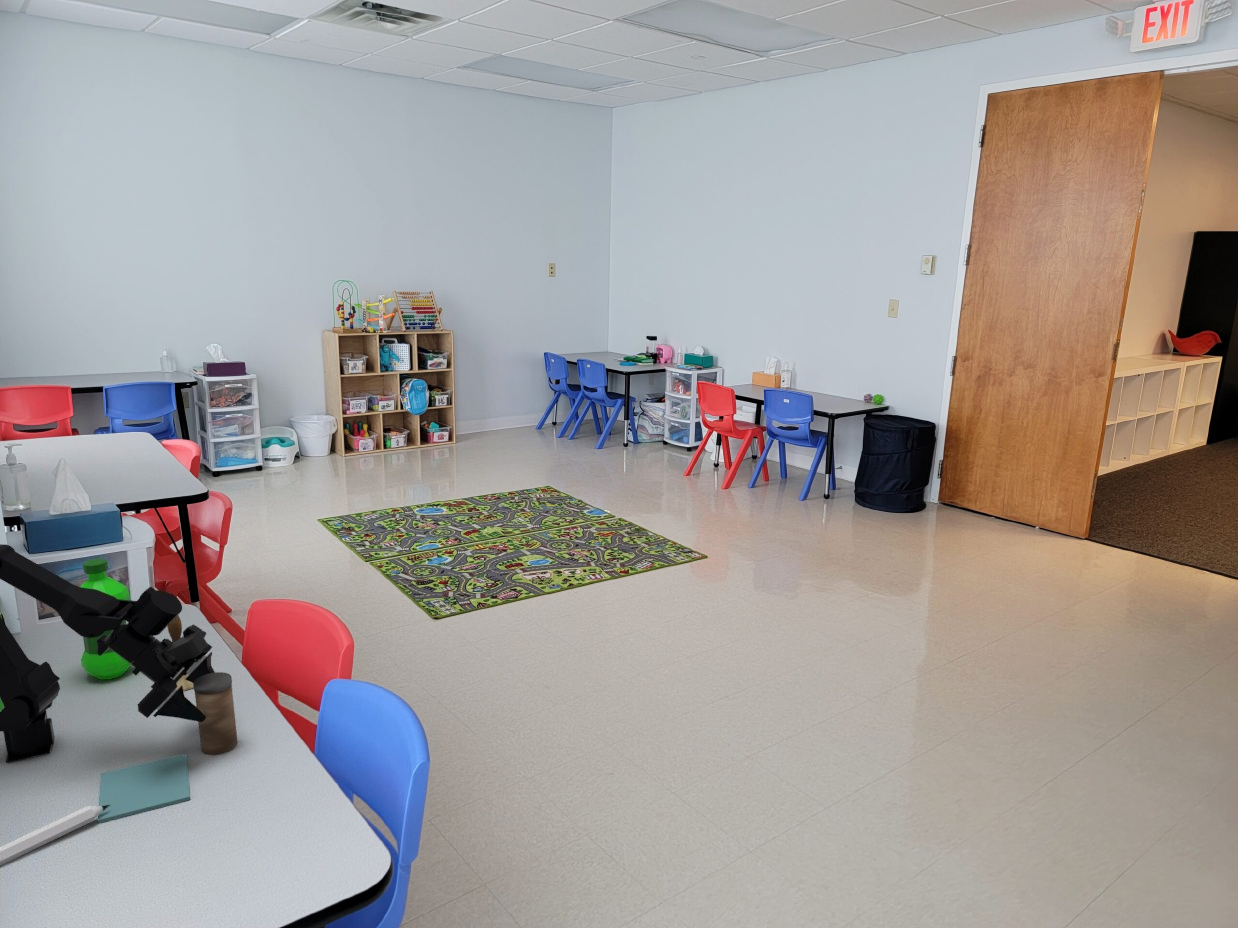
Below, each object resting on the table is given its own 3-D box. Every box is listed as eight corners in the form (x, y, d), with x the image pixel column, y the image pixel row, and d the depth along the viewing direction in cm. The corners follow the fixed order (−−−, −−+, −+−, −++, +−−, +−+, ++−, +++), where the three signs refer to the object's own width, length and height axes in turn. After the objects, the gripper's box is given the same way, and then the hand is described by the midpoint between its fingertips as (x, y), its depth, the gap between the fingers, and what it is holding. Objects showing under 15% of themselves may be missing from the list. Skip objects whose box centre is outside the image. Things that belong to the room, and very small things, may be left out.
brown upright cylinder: (201, 758, 153) (194, 692, 150) (199, 741, 158) (192, 676, 155) (239, 749, 156) (233, 684, 152) (236, 733, 161) (229, 669, 158)
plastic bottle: (71, 680, 180) (53, 566, 174) (116, 658, 189) (101, 550, 183) (104, 689, 176) (87, 574, 170) (149, 667, 185) (135, 557, 179)
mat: (98, 823, 135) (97, 819, 135) (101, 776, 147) (100, 773, 147) (190, 799, 141) (189, 796, 141) (186, 756, 153) (185, 753, 153)
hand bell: (150, 687, 177) (140, 615, 173) (183, 670, 184) (175, 600, 181) (180, 695, 174) (171, 622, 170) (213, 677, 181) (205, 607, 178)
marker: (113, 813, 138) (-5, 869, 126) (108, 803, 139) (-10, 857, 127) (114, 804, 136) (-5, 860, 125) (108, 794, 137) (-11, 848, 126)
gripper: (147, 644, 141) (224, 703, 145) (195, 599, 159) (262, 652, 163) (104, 689, 143) (181, 746, 146) (156, 639, 161) (223, 691, 164)
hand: (214, 706), depth 155 cm, fingers open, 9 cm apart
